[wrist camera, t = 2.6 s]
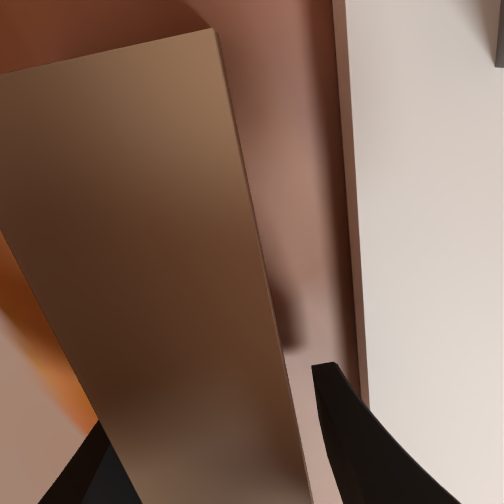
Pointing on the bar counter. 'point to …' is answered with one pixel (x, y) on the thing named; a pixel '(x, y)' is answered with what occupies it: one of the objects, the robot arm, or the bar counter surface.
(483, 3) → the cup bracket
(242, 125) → the bar counter surface
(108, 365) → the rail
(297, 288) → the bar counter surface
